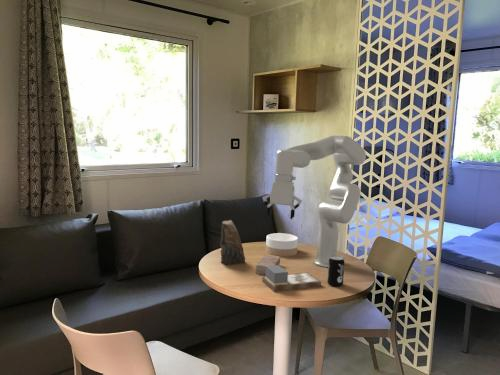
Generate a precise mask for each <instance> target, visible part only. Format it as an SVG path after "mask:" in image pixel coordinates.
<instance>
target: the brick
mask: <svg viewBox="0 0 500 375" xmlns="http://www.w3.org/2000/svg"><path fill="white" fill-rule="evenodd" d="M280 264H281V256H276V255H263V256H262V257H261V258H260V260H259V261H258V262H257V263H256V264H255V274H257V275H262V276H265V274H266V266H275V265H279V266H280Z"/></svg>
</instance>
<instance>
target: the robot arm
mask: <svg viewBox="0 0 500 375" xmlns="http://www.w3.org/2000/svg"><path fill="white" fill-rule="evenodd" d="M331 155H332V157H333V162H334V164H335V174H334V177H333V179H332V181H331V184H330V187H329V189H328V197H329V198H330V199H331V200H324V201H322V202H320V203H319V205H318V207H317V215H318V236H317V237H318V239H317V255H316V258H314V259H313V264H315V265H316V266H319V267H325V268H328V265H329V259H330V256H341V257H343V258H344V260H345V259H346V257H345V255H340V254H338V241H339V227H338V224H346V225H347V224H348V223H350V222H351V220H352V219H353V217H354V214H355V212H356V209H357V207H358V204H359V202H360V198H361V189H360V186H358V185H357V184H356V183H352V179H353V170H352V168H351V167H350V165H355V166H360V165H362V164H364V163H365V161H366V160H367V155H366V150H365V149H364V148H363V147H362V146H361V145H360V144H359V143H358V142H357V141H356V140H355V139H353V138H352V137H350V136H348V135H330V136H328V137H324V138H322V139H319V140H316V141H313V142H309V143H305V144H299V145H295V146H292V147H289V148H287V149H278V150H277V152H276V156H275V157H276V158H275V173H274V180H272V184H271V190H270V193H269V194H266V195H264V196H262V197H261V198H262V200H263V203H264V205H265V206H266V207H267V211H266V212H267V213H266V214H267V216H268V217H269V218H270V217H271V216H272V210H273V209H272V205H280V206H281V205H282V206H289V207H290V208H291V210H290V218H289V219H290V220H292V219H294V218H295V214H296V213H295V210H296V209H298V208H299V207H300V205H302V202H303V200H302V199H300V198H299V197H297V196H296V195H295V182H293V181H297V180H296V179H297V178H296V176H294V175H293V174H294V168H300V169H302V168H307V167H308V166H309V165H310V164H311V161H317V160H322V159H324V158H327V157H330V156H331ZM268 198H269V202H268V200H267V199H268ZM332 200H333V201H332ZM295 201H296V202H297V203H296V204H295V205H294V202H295ZM337 223H338V224H337Z"/></svg>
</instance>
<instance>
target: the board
mask: <svg viewBox="0 0 500 375" xmlns="http://www.w3.org/2000/svg"><path fill="white" fill-rule="evenodd" d="M261 280H262V281H261V282H262V283H263V284H264V285H265V286H267V287H268V288H269V289H270V290H271V291H272V292H273V293H275V292H282V291H291V290H299V289H300V290H301V289H308V288H317V287H321V286H322V281H321V280H320V279H318V278H317V277H315V276H313V275H312V274H310V273H309V272H306V271H305V272H297V273H288V281H287V284H280V285H273V284H272V283H271V282H270V281H269V280H268V279H266V278H265V276H262V278H261Z"/></svg>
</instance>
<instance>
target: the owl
mask: <svg viewBox="0 0 500 375" xmlns="http://www.w3.org/2000/svg"><path fill="white" fill-rule="evenodd" d="M220 229H221V230H220V231H221V234H220V235H219V238H220V240H219V241H220V245H219V246H220V256H221V257H220V259H221V261H220V263H221V264H222V265H224V266H225V265H228V266H232V265H239V264H240V263H241V264H245V263H246V256H245V252H244V247H243V244H242V241H241V237H240V234H239V231H238V229H237V226H235V223H234V221H232V219H229V220H223V221H221V226H220Z"/></svg>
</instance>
